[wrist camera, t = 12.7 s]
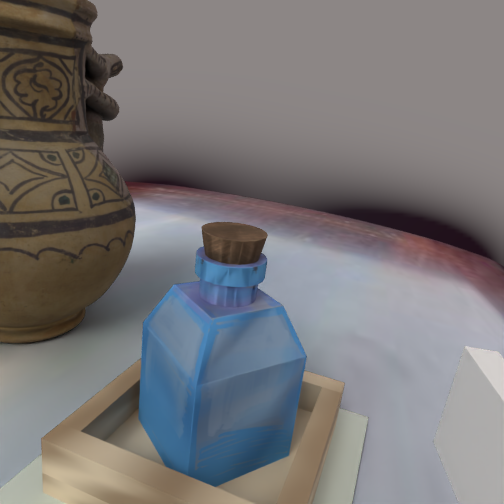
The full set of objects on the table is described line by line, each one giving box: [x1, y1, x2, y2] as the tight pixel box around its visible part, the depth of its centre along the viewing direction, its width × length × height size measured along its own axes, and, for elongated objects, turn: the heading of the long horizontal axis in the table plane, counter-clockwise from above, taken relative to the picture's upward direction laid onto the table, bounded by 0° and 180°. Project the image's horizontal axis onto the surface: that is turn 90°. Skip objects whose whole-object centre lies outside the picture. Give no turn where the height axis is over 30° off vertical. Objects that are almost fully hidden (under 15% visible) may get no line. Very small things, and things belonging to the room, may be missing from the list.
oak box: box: [41, 358, 345, 504], centre depth 25 cm, size 12×12×3 cm
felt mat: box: [0, 408, 368, 504], centre depth 25 cm, size 16×16×1 cm
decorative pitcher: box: [0, 0, 136, 343], centre depth 34 cm, size 22×18×25 cm
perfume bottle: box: [138, 222, 307, 487], centre depth 23 cm, size 6×6×12 cm
